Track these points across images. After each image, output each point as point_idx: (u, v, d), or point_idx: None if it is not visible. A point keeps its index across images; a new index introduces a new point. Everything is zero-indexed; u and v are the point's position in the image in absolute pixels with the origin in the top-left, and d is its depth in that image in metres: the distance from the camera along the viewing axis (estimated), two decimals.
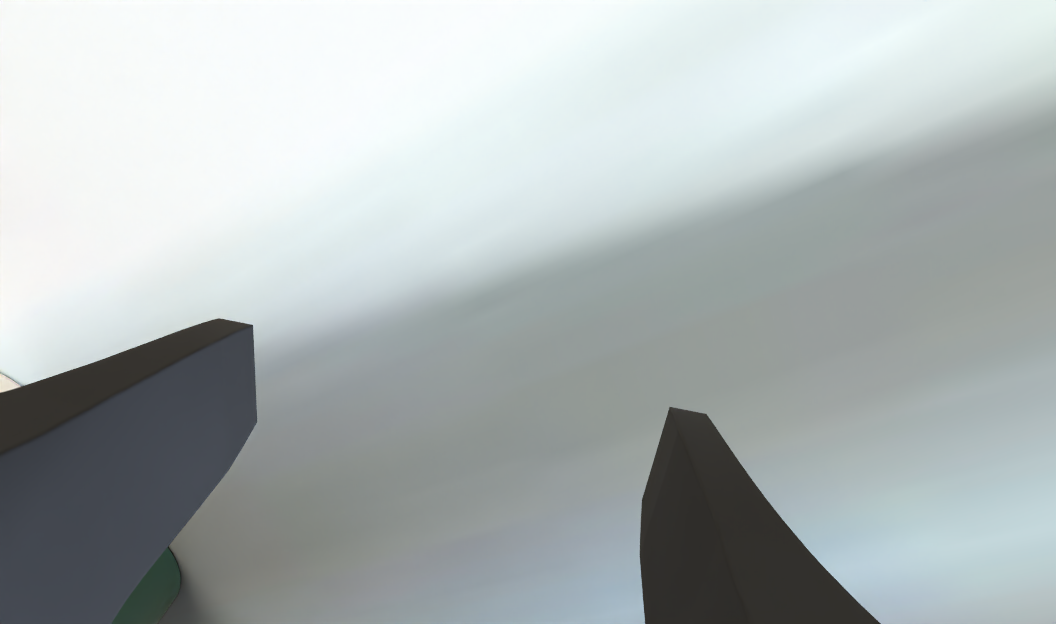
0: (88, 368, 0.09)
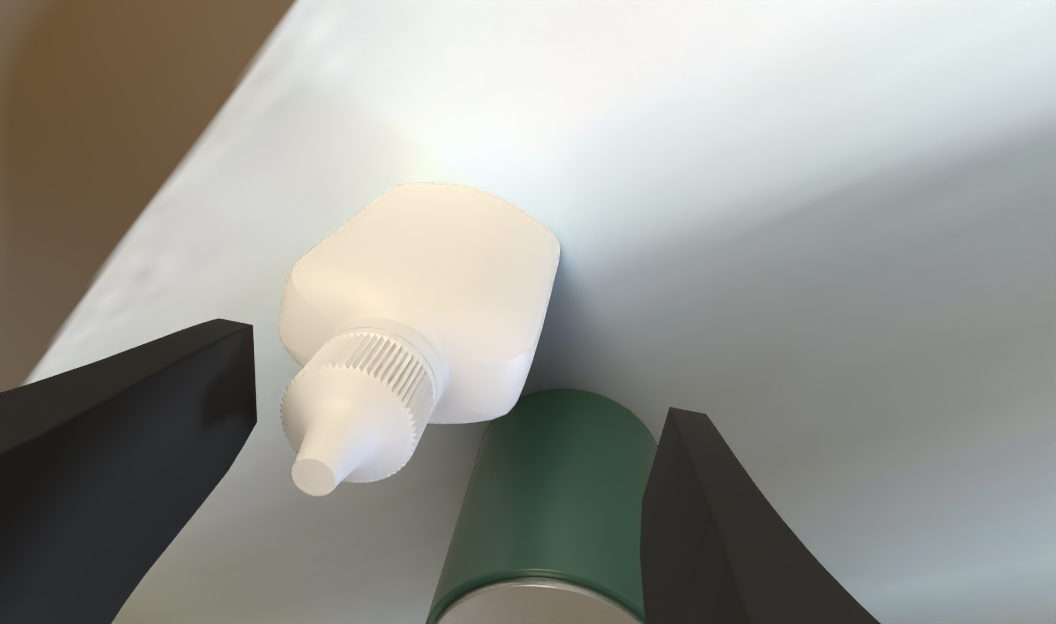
0: (88, 368, 0.09)
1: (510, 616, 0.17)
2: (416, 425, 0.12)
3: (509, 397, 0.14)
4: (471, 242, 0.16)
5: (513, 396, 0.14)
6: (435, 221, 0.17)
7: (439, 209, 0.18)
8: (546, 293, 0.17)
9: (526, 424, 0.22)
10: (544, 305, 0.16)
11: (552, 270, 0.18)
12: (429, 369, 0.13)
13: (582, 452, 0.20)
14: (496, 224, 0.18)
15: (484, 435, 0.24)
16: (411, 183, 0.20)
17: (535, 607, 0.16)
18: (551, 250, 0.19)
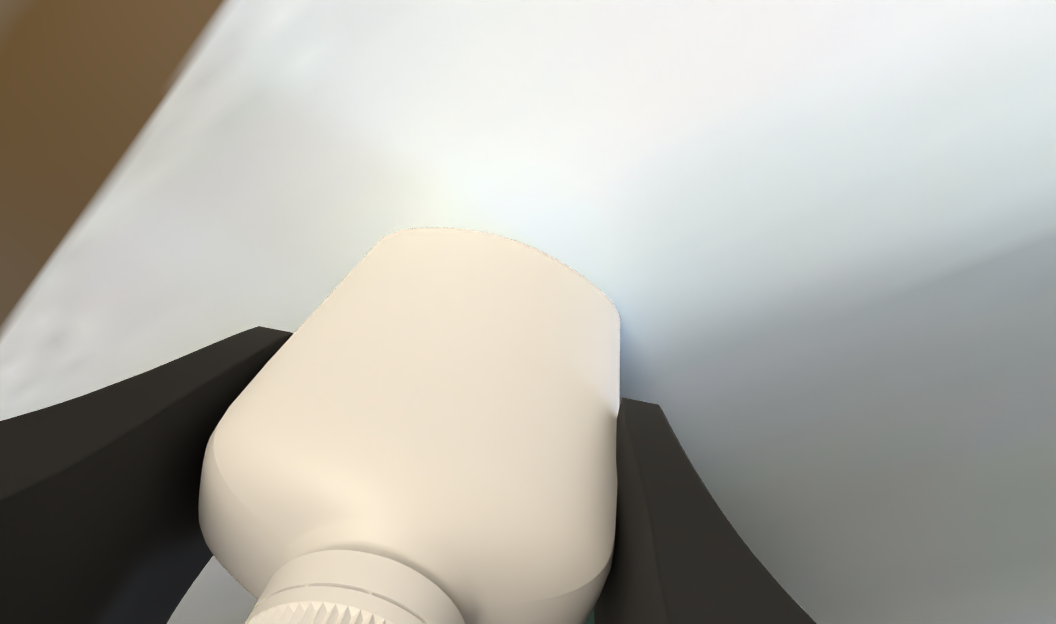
0: (139, 378, 0.09)
1: None
2: None
3: None
4: (505, 350, 0.11)
5: None
6: (449, 312, 0.11)
7: (454, 283, 0.12)
8: (616, 420, 0.11)
9: None
10: None
11: (617, 368, 0.13)
12: None
13: None
14: (536, 303, 0.12)
15: None
16: (412, 229, 0.14)
17: None
18: (612, 331, 0.13)
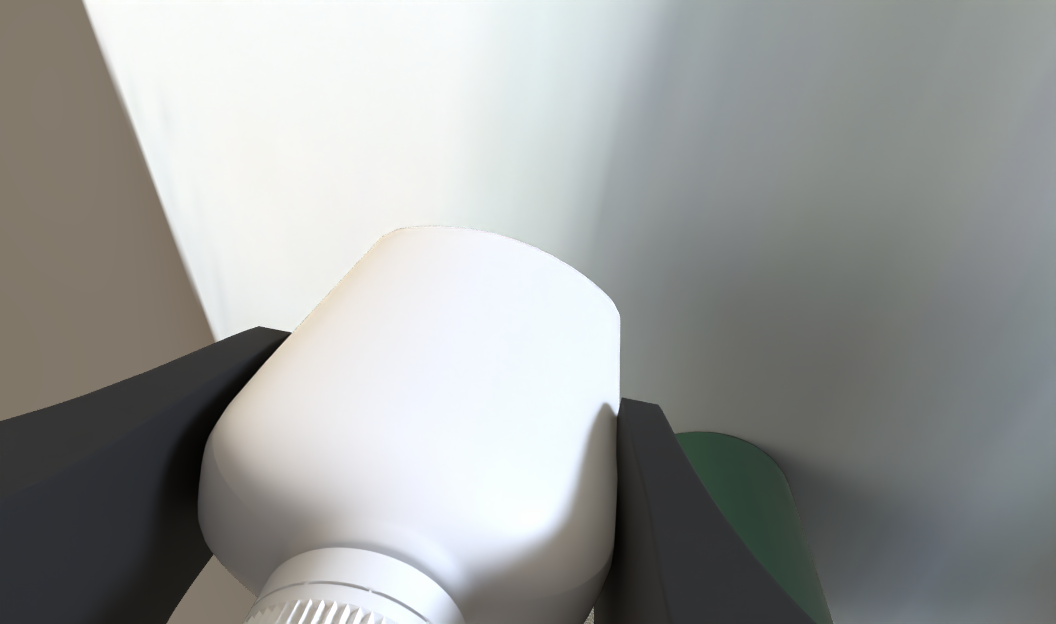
0: (139, 378, 0.09)
1: None
2: None
3: None
4: (505, 349, 0.11)
5: None
6: (449, 310, 0.11)
7: (454, 282, 0.12)
8: (616, 419, 0.11)
9: None
10: None
11: (617, 367, 0.13)
12: None
13: None
14: (536, 301, 0.12)
15: None
16: (412, 228, 0.14)
17: None
18: (612, 330, 0.13)
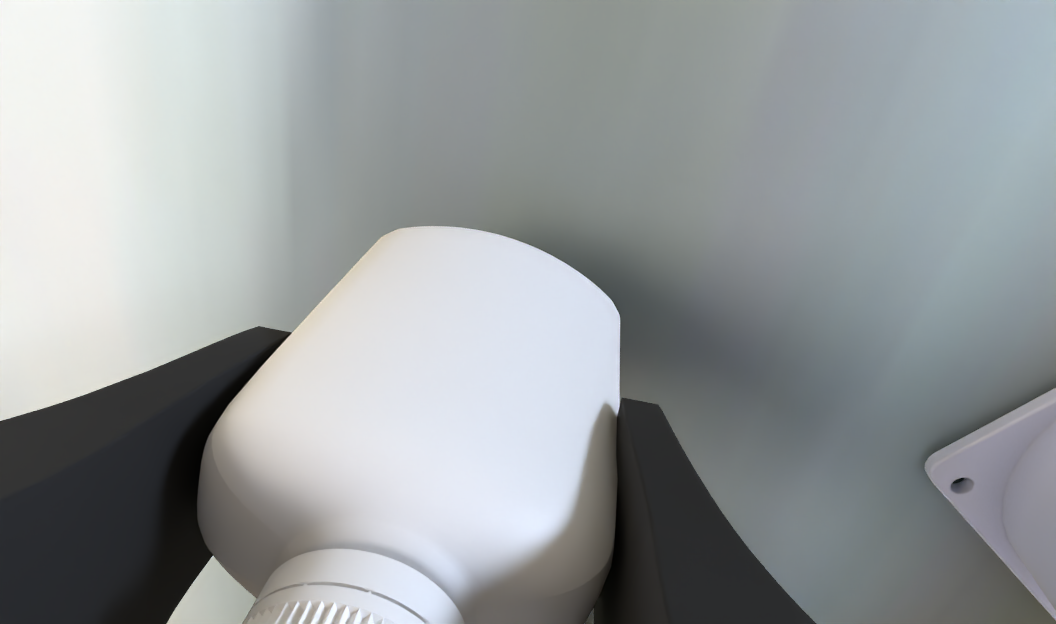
0: (139, 378, 0.09)
1: None
2: None
3: None
4: (505, 349, 0.11)
5: None
6: (448, 310, 0.11)
7: (454, 282, 0.12)
8: (616, 419, 0.11)
9: None
10: None
11: (617, 367, 0.13)
12: None
13: None
14: (536, 302, 0.12)
15: None
16: (412, 228, 0.14)
17: None
18: (612, 330, 0.13)
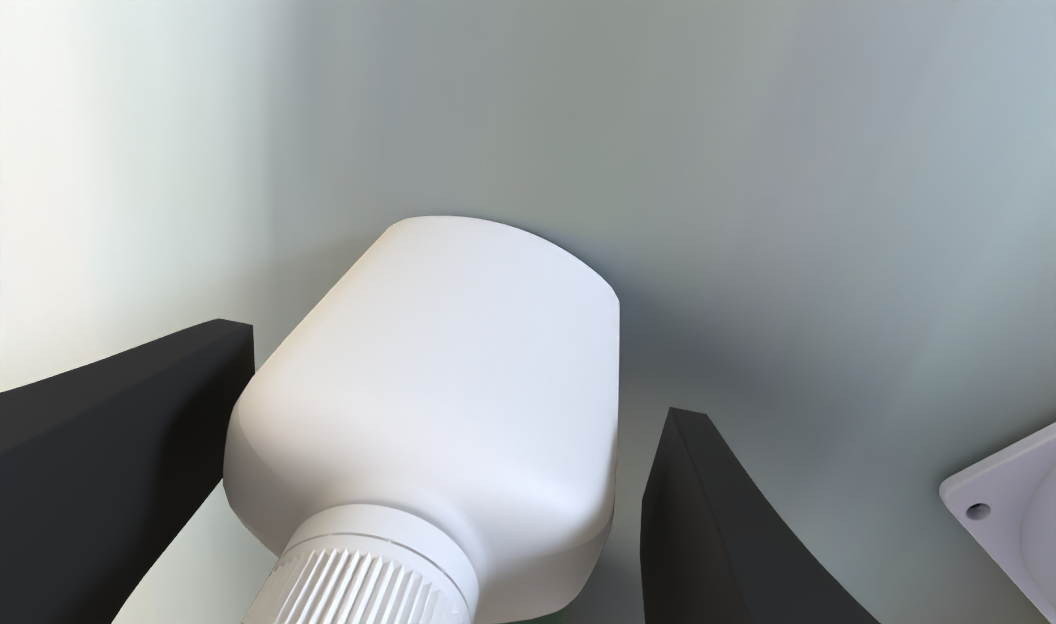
0: (88, 368, 0.09)
1: None
2: None
3: (576, 590, 0.09)
4: (510, 329, 0.11)
5: (581, 585, 0.09)
6: (457, 292, 0.12)
7: (461, 267, 0.13)
8: (616, 396, 0.12)
9: None
10: (616, 420, 0.11)
11: (617, 349, 0.13)
12: (459, 594, 0.08)
13: None
14: (539, 286, 0.13)
15: None
16: (419, 217, 0.15)
17: None
18: (612, 315, 0.14)
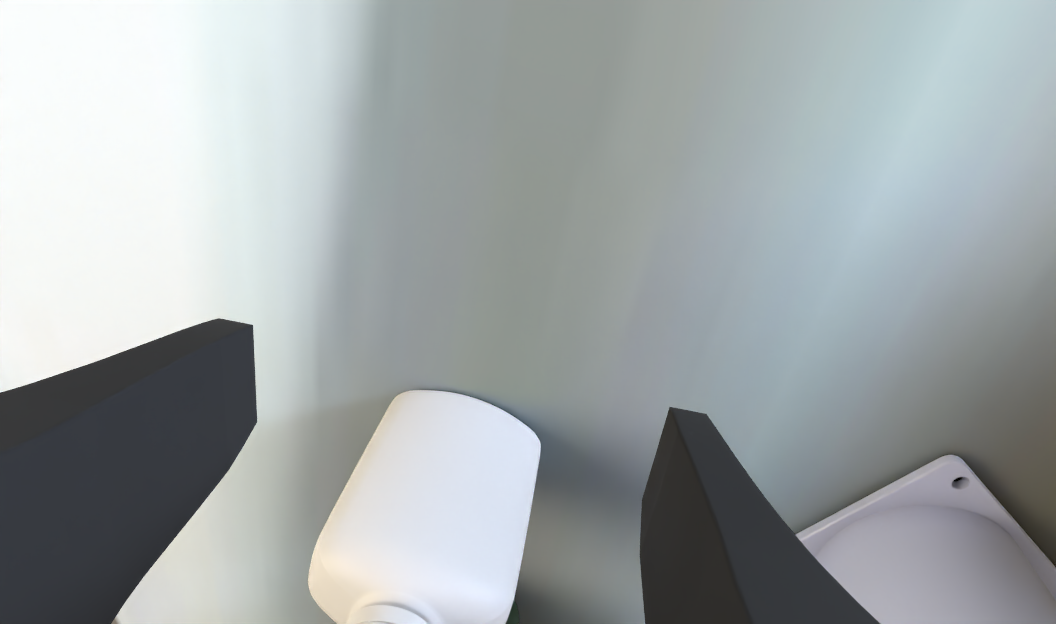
0: (88, 368, 0.09)
1: None
2: None
3: None
4: (463, 489, 0.20)
5: None
6: (433, 465, 0.20)
7: (437, 442, 0.21)
8: (525, 524, 0.20)
9: None
10: (523, 541, 0.20)
11: (532, 487, 0.22)
12: None
13: None
14: (484, 450, 0.22)
15: None
16: (413, 392, 0.24)
17: None
18: (532, 460, 0.23)
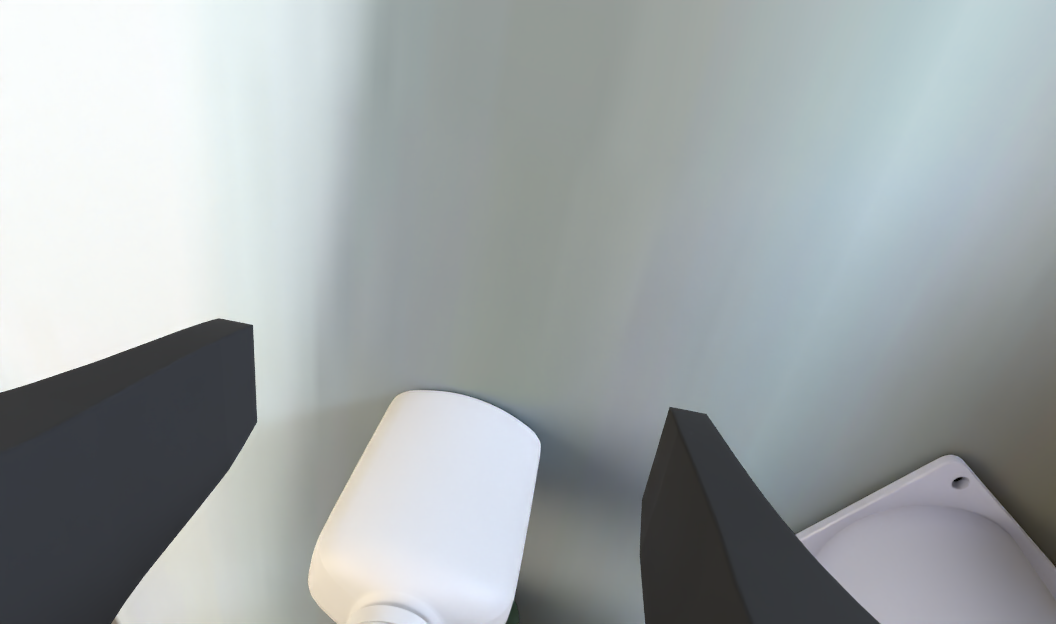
0: (88, 368, 0.09)
1: None
2: None
3: None
4: (463, 489, 0.20)
5: None
6: (433, 465, 0.20)
7: (437, 442, 0.21)
8: (525, 524, 0.20)
9: None
10: (523, 541, 0.20)
11: (532, 487, 0.22)
12: None
13: None
14: (484, 450, 0.22)
15: None
16: (413, 392, 0.24)
17: None
18: (532, 460, 0.23)
